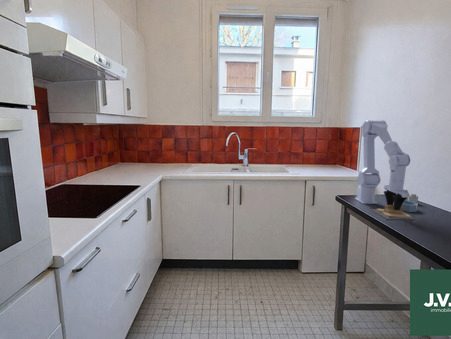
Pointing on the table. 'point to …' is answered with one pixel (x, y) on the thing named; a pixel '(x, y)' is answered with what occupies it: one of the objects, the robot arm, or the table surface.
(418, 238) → the table surface
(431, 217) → the table surface
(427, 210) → the table surface
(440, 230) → the table surface
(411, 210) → the bowl
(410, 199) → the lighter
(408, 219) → the mat
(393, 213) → the lid
